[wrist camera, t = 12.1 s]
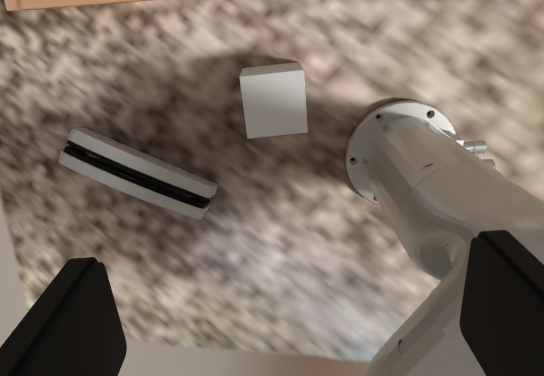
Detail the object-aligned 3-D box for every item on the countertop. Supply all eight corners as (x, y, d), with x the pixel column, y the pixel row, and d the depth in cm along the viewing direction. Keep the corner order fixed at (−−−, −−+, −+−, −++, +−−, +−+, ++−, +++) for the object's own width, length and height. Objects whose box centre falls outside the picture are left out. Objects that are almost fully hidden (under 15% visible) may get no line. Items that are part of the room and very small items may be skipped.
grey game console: (69, 164, 48) (33, 169, 38) (85, 126, 48) (53, 121, 38) (203, 219, 51) (203, 236, 41) (219, 184, 51) (222, 193, 41)
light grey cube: (242, 67, 44) (239, 76, 38) (299, 61, 43) (303, 69, 38) (249, 123, 46) (247, 138, 41) (303, 117, 46) (308, 132, 40)
